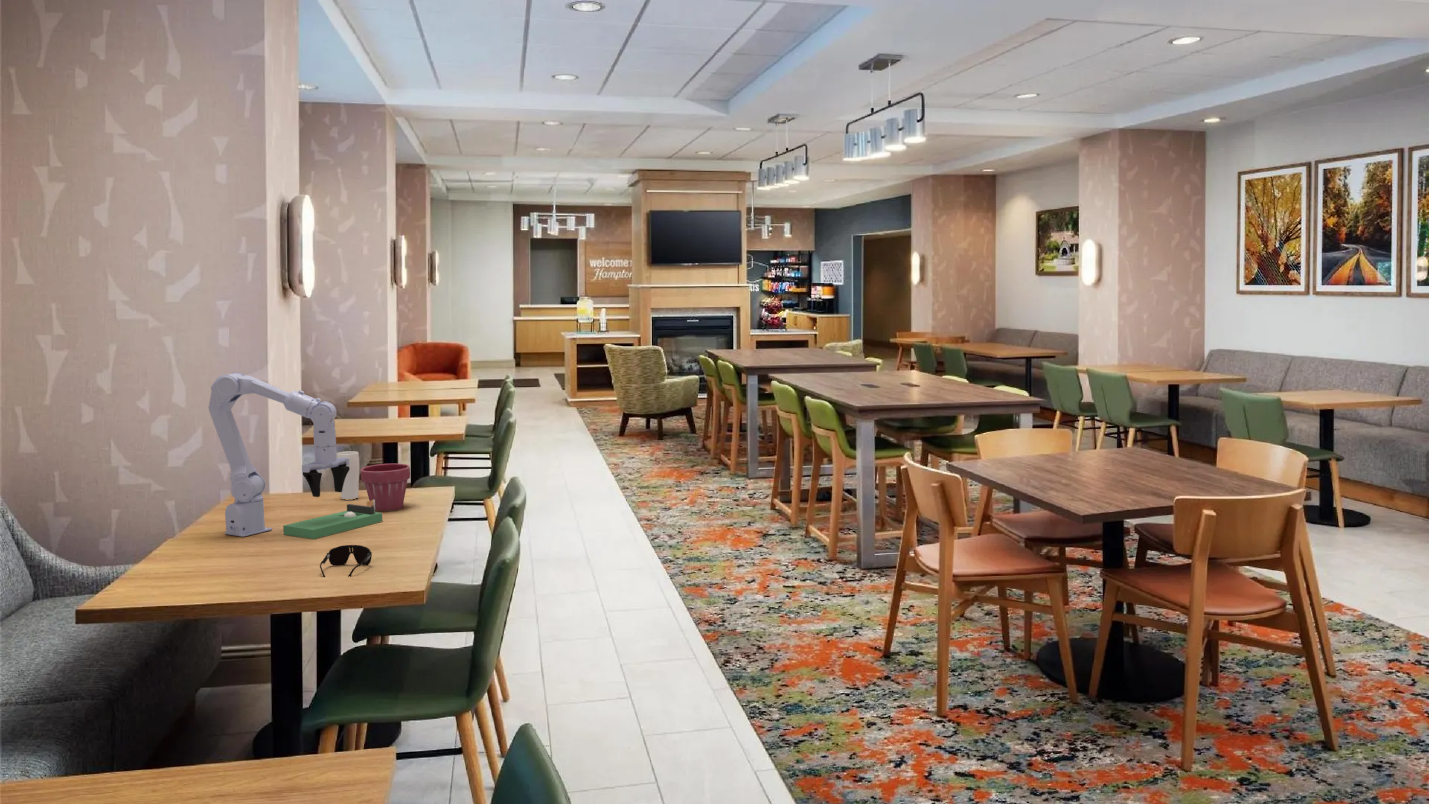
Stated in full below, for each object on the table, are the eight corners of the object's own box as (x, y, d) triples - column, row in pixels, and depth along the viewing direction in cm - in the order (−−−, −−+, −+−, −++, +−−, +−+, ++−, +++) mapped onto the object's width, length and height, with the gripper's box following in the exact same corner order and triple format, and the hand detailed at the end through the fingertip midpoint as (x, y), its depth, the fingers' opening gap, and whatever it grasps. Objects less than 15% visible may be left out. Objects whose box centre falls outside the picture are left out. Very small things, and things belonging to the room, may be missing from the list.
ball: (353, 527, 295) (351, 519, 293) (341, 525, 296) (340, 516, 293) (359, 519, 298) (357, 510, 296) (348, 516, 298) (346, 507, 296)
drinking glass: (364, 497, 334) (362, 451, 333) (355, 501, 328) (353, 454, 326) (344, 496, 335) (342, 451, 333) (334, 501, 328) (332, 454, 327)
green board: (313, 539, 277) (312, 515, 276) (283, 534, 283) (282, 511, 282) (382, 521, 298) (381, 499, 297) (353, 517, 304) (352, 495, 303)
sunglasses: (374, 563, 252) (373, 544, 250) (360, 583, 240) (358, 563, 239) (331, 564, 251) (329, 545, 250) (314, 584, 240) (312, 564, 238)
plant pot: (361, 514, 308) (359, 472, 306) (363, 505, 321) (362, 464, 320) (411, 511, 311) (409, 469, 310) (411, 502, 325) (410, 462, 323)
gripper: (313, 450, 278) (315, 500, 279) (356, 443, 291) (358, 491, 292) (295, 448, 281) (298, 497, 283) (338, 441, 294) (340, 488, 295)
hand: (327, 494), depth 288 cm, fingers open, 7 cm apart
